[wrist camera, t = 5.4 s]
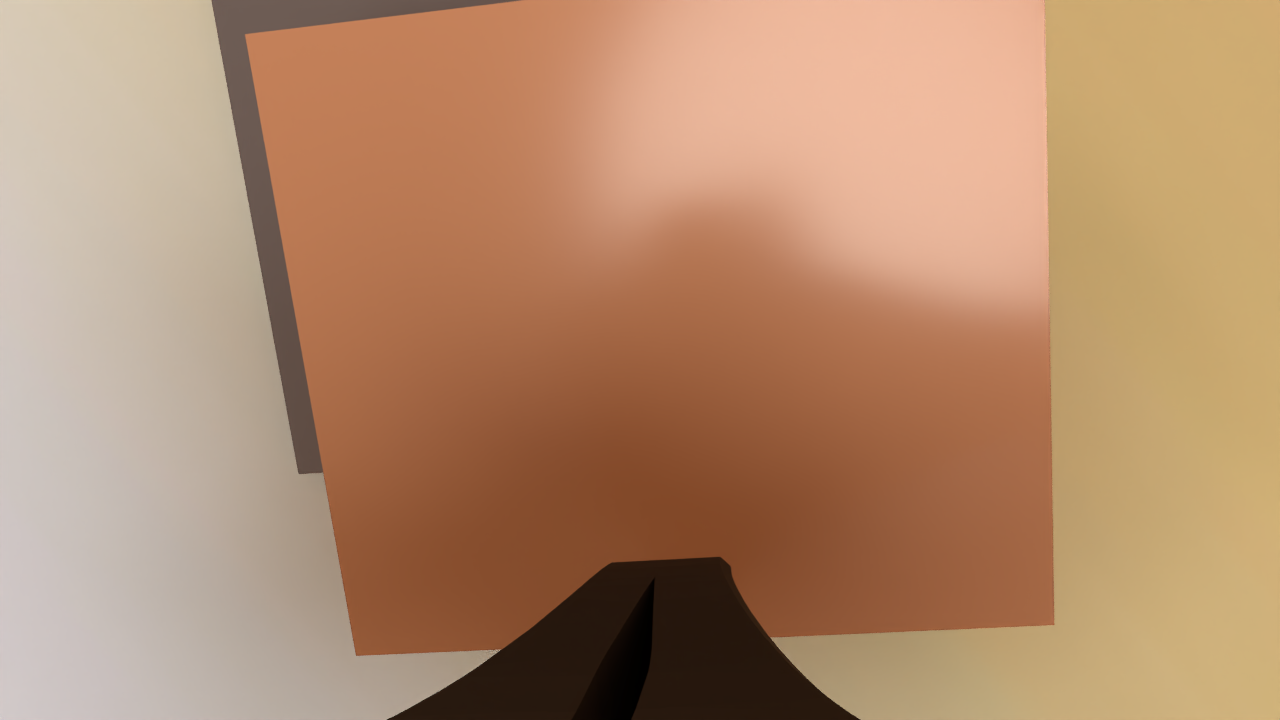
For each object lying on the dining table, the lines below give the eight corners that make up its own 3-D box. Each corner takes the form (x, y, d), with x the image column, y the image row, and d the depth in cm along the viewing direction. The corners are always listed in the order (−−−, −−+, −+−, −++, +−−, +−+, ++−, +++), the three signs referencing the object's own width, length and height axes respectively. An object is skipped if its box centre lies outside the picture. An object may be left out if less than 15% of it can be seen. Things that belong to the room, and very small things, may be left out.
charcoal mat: (1001, 420, 17) (1007, 427, 16) (308, 466, 18) (298, 473, 18) (984, -249, 15) (991, -259, 14) (198, -136, 16) (185, -143, 16)
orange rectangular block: (1054, 625, 13) (1043, -63, 11) (356, 655, 14) (245, 33, 12) (977, 499, 17) (961, -13, 15) (446, 530, 18) (373, 55, 16)
